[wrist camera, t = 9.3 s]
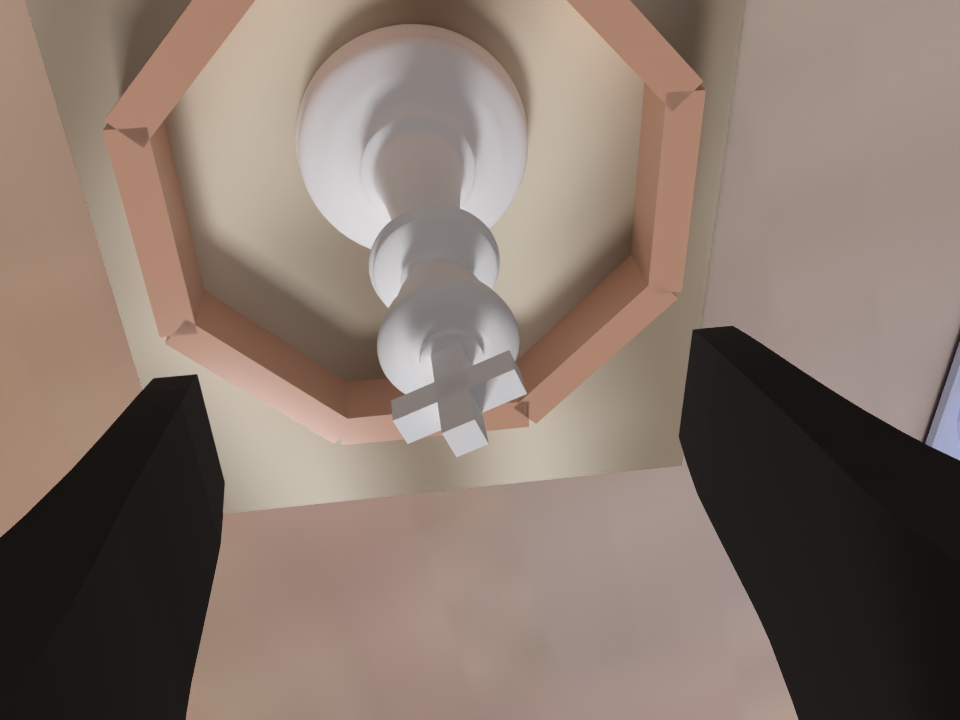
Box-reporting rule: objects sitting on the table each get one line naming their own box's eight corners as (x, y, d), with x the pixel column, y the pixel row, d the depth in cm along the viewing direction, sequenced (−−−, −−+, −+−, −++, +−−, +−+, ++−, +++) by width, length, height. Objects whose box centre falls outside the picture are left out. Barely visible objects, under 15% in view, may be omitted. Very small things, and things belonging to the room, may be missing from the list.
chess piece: (558, 191, 20) (708, 494, 12) (363, 279, 21) (376, 624, 12) (472, -21, 17) (587, 182, 9) (250, 89, 18) (169, 370, 10)
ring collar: (701, -119, 17) (729, -110, 16) (650, 378, 23) (667, 413, 22) (68, -90, 16) (45, -77, 14) (202, 421, 22) (193, 460, 21)
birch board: (768, -330, 16) (792, -335, 15) (671, 443, 26) (682, 465, 25) (-46, -310, 15) (-70, -314, 14) (186, 493, 25) (180, 518, 24)
